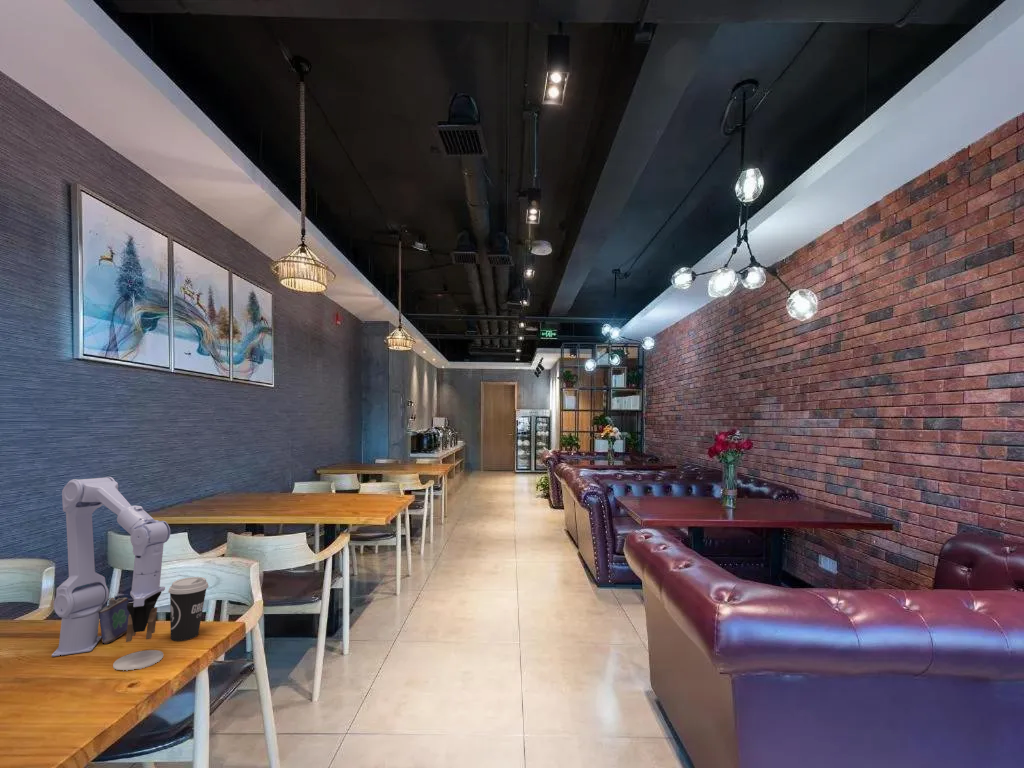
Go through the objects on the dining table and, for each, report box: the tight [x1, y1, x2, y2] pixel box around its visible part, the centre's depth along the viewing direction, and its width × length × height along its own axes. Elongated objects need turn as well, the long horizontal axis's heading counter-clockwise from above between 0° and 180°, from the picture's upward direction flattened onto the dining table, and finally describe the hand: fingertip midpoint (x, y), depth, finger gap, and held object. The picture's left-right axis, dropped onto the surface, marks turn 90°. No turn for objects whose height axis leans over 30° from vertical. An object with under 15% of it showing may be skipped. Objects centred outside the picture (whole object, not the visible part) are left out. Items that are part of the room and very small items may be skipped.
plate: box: [112, 649, 164, 672], centre depth 121 cm, size 10×10×1 cm
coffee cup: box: [167, 576, 209, 642], centre depth 137 cm, size 10×10×15 cm
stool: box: [125, 607, 158, 643], centre depth 122 cm, size 5×5×6 cm
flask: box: [98, 596, 130, 645], centre depth 135 cm, size 9×3×11 cm, turn 2°
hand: (142, 627), depth 122 cm, fingers closed on stool, 5 cm apart
